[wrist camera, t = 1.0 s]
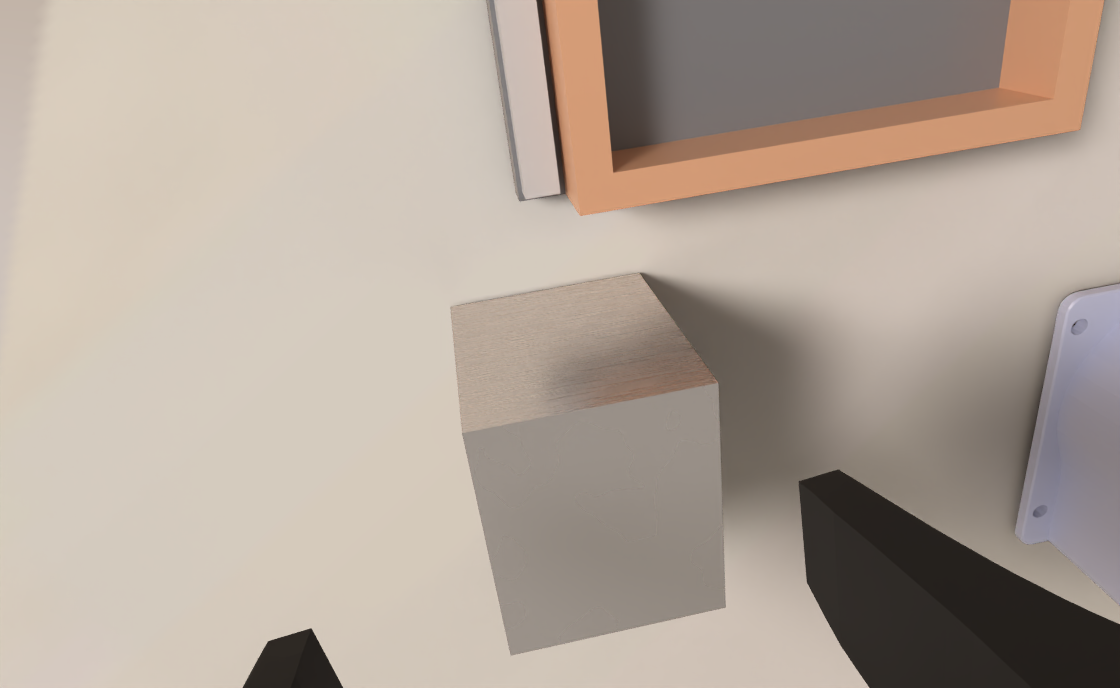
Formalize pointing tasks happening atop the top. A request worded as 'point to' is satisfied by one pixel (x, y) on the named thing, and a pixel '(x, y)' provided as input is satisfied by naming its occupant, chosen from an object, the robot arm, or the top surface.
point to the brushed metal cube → (591, 460)
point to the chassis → (772, 88)
